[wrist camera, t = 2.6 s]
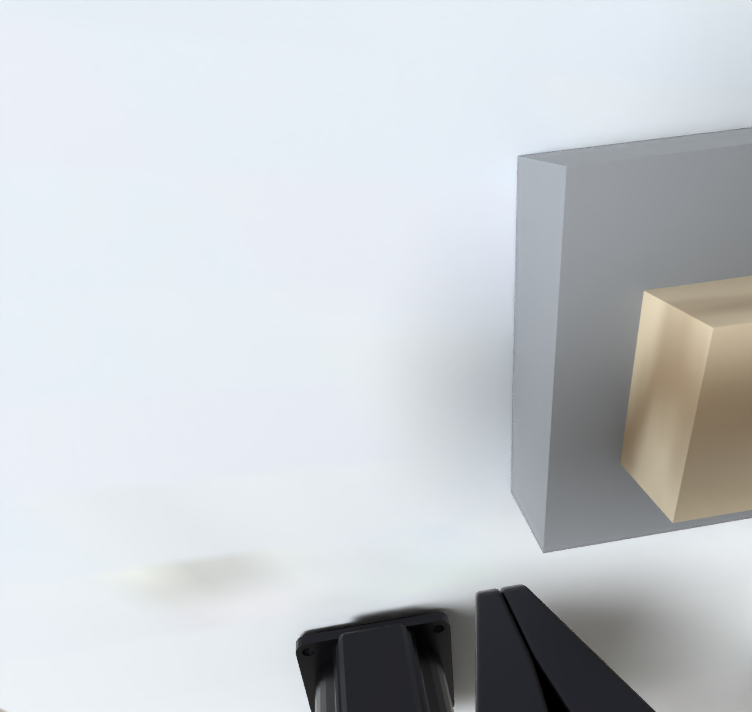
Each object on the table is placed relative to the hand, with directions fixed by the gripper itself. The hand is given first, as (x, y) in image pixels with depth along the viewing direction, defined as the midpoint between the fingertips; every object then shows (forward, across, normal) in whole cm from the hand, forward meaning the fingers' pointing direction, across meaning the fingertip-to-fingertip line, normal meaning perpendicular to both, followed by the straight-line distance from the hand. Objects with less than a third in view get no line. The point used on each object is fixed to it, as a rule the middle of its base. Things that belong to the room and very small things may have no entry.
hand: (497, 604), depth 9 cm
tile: (+6, -8, 0) cm, 10 cm away
